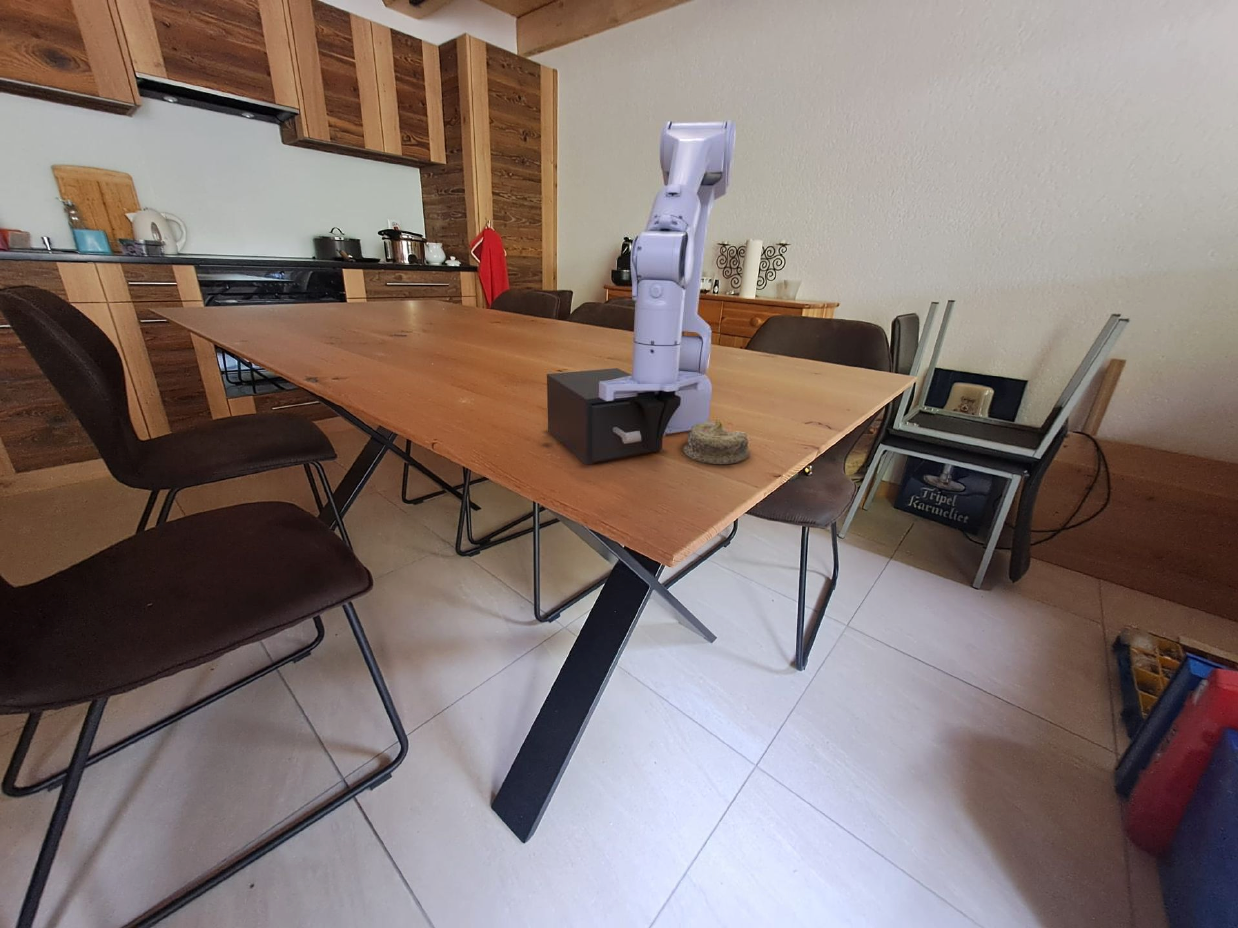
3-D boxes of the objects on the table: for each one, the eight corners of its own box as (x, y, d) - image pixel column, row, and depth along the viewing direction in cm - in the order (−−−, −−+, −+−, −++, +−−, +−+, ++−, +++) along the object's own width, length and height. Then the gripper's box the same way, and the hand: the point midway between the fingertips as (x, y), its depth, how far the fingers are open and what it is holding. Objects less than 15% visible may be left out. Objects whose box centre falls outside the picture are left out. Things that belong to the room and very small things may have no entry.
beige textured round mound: (728, 475, 66) (731, 440, 64) (670, 456, 72) (671, 423, 69) (760, 451, 73) (764, 418, 70) (704, 435, 79) (706, 404, 76)
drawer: (678, 460, 67) (684, 407, 63) (607, 474, 62) (609, 417, 58) (618, 421, 81) (620, 376, 78) (556, 430, 76) (555, 382, 72)
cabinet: (660, 451, 72) (665, 390, 68) (585, 465, 66) (586, 399, 62) (615, 421, 83) (617, 368, 79) (547, 431, 78) (546, 373, 74)
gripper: (620, 351, 50) (616, 468, 55) (725, 344, 57) (712, 449, 62) (591, 340, 56) (590, 448, 61) (690, 336, 62) (681, 433, 68)
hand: (650, 447), depth 62 cm, fingers closed, pressing on drawer
